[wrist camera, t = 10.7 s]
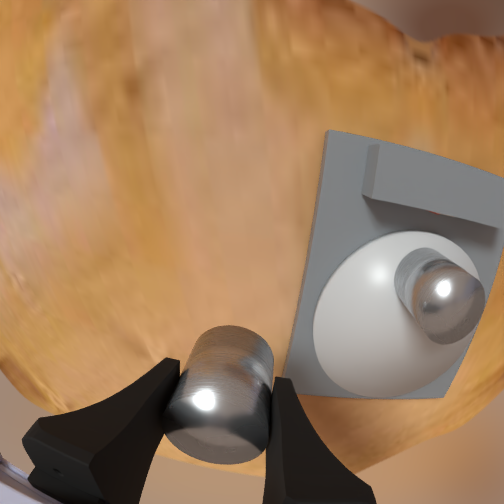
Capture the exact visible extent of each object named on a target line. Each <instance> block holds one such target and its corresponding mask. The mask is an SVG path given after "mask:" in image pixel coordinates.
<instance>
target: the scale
mask: <svg viewBox="0 0 504 504" xmlns="http://www.w3.org/2000/svg"><path fill="white" fill-rule="evenodd" d="M503 246H504V178H502V177H499V176H497V175H494V174H492V173H489V172H486V171H483V170H481V169H478V168H475V167H472V166H469V165H466V164H463V163H460V162H457V161H454V160H451V159H448V158H445V157H441V156H438V155H435V154H431V153H428V152H424V151H421V150H417V149H414V148H410V147H406V146H402V145H398V144H394V143H390V142H386V141H382V140H378V139H373V138H369V137H364V136H360V135H355V134H350V133H345V132H340V131H334V130H328V131H326V133H325V141H324V148H323V156H322V163H321V170H320V177H319V184H318V190H317V197H316V203H315V210H314V216H313V222H312V228H311V234H310V240H309V246H308V251H307V257H306V262H305V268H304V273H303V279H302V284H301V289H300V294H299V299H298V304H297V309H296V314H295V319H294V324H293V329H292V334H291V338H290V343H289V348H288V352H287V357H286V361H285V366H284V370H283V374H282V378H290V379H291V380H292V383H293V386H294V389H295V392H296V394H304V395H315V396H327V397H343V398H365V399H426V398H444V396H445V394H446V392H447V391H448V389H449V387H450V385H451V383H452V381H453V379H454V377H455V375H456V373H457V371H458V369H459V367H460V365H461V363H462V361H463V359H464V357H465V354H466V352H467V350H468V348H469V345H470V343H471V341H472V338H473V336H474V334H475V331H476V329H477V326H478V324H479V322H478V323H477V325H476V326H475V328H474V329H473V330H472V331H471V332H470V333H469V334H468V335H467V336H466V337H464V338H463V339H461V340H459V341H457V342H455V343H452V344H447V345H442V344H437V343H435V342H433V341H431V340H430V339H429V338H428V337H427V335H426V334H425V332H424V331H423V330H422V328H421V327H420V325H419V324H418V323H417V321H416V320H415V319H414V317H413V316H412V314H411V313H410V312H409V310H408V309H407V308H406V306H405V305H404V304H403V302H402V301H401V300H400V298H399V297H398V296H397V294H396V291H395V288H394V276H395V272H396V269H397V267H398V265H399V263H400V262H401V260H402V259H403V258H404V257H405V256H406V255H407V254H408V253H410V252H411V251H413V250H415V249H418V248H422V247H428V248H432V249H435V250H436V251H438V252H439V253H441V254H442V255H444V256H445V257H447V258H448V259H450V260H451V261H453V262H454V263H456V264H457V265H458V266H460V267H461V268H463V269H464V270H465V271H467V272H468V273H470V274H471V275H472V276H474V277H475V278H477V279H478V280H479V281H480V282H481V284H482V286H483V288H484V291H485V305H486V303H487V300H488V297H489V294H490V291H491V288H492V285H493V282H494V279H495V275H496V272H497V269H498V265H499V262H500V258H501V254H502V250H503ZM484 308H485V307H484ZM480 319H481V318H480ZM479 321H480V320H479Z"/></svg>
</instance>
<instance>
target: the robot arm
mask: <svg viewBox="0 0 504 504" xmlns="http://www.w3.org/2000/svg"><path fill="white" fill-rule="evenodd" d="M179 378H180V360H176V359H171V358H167V357H166V358H165V359H163V360H162V361H161V362H160V363H158V364H157V365H156V366H155V367H153V368H152V369H151V370H150V371H148V372H147V373H146V374H145V375H143V376H142V377H140V378H139V379H138V380H136V381H135V382H134V383H132V384H131V385H129V386H127V387H126V388H124V389H123V390H121V391H120V392H118V393H116V394H114V395H113V396H111V397H109V398H107V399H105V400H103V401H101V402H98V403H96V404H93V405H91V406H88V407H85V408H83V409H80V410H76V411H73V412H69V413H65V414H60V415H55V416H48V417H41V418H39V419H38V420H37V421H36V422H35V423H34V424H33V425H32V427H31V428H30V429H29V430H28V432H27V433H26V434H25V435H24V437H23V438H22V443H23V446H24V448H25V450H26V452H27V454H28V455H29V457H30V459H31V460H32V462H33V464H34V465H35V468H34V469H33V471H32V472H31V474H30V475H28V474H27V473H25V472H24V471H22V470H20V469H19V468H17V467H16V466H14V465H13V464H11V463H10V462H8V461H7V460H5V459H4V458H2V455H1V453H0V504H139V501H140V497H141V494H142V490H143V487H144V484H145V481H146V477H147V474H148V471H149V468H150V465H151V462H152V459H153V457H154V454H155V452H156V449H157V447H158V445H159V443H160V441H161V439H162V437H163V435H164V431H163V428H162V422H161V420H162V416H163V413H164V411H165V409H166V406H167V404H168V402H169V400H170V398H171V395H172V393H173V391H174V389H175V387H176V384H177V382H178V380H179ZM262 504H376V500H375V497H374V494H373V491H372V488H371V486H369V485H368V484H366V483H365V482H364V481H362V480H361V479H359V478H358V477H357V476H355V475H354V474H353V473H352V472H351V471H349V470H348V469H347V468H346V467H345V466H344V465H343V464H342V463H341V462H340V461H339V460H338V459H337V458H336V457H335V456H334V455H333V454H332V453H331V451H330V450H329V449H328V448H327V446H326V445H325V444H324V443H323V441H322V440H321V439H320V437H319V436H318V434H317V433H316V431H315V430H314V428H313V426H312V425H311V423H310V421H309V419H308V418H307V416H306V414H305V412H304V410H303V408H302V406H301V404H300V401H299V399H298V397H297V394H296V392H295V389H294V386H293V383H292V380H291V379H290V378H282V377H275V382H274V386H273V391H272V396H271V409H270V423H269V436H268V444H267V447H266V479H265V488H264V496H263V503H262Z"/></svg>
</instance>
